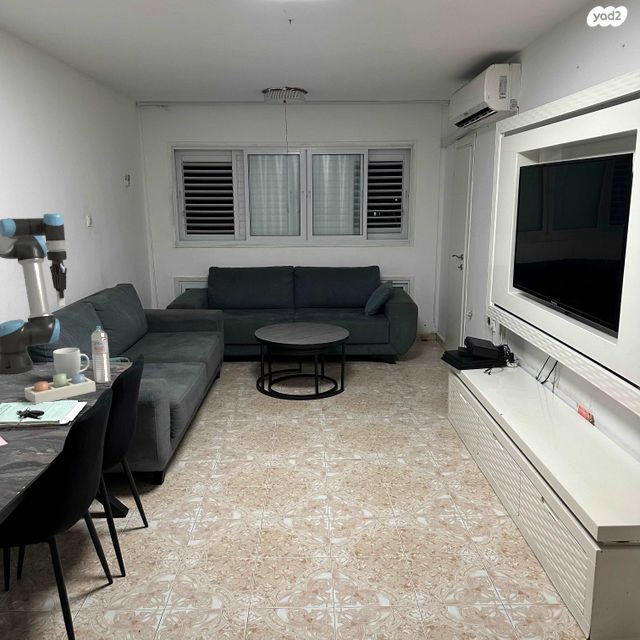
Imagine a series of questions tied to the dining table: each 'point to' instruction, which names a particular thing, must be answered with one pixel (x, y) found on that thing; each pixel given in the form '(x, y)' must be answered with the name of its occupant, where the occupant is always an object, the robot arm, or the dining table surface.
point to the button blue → (78, 378)
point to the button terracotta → (40, 386)
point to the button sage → (59, 380)
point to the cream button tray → (59, 391)
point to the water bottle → (100, 356)
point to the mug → (68, 361)
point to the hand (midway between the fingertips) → (61, 305)
